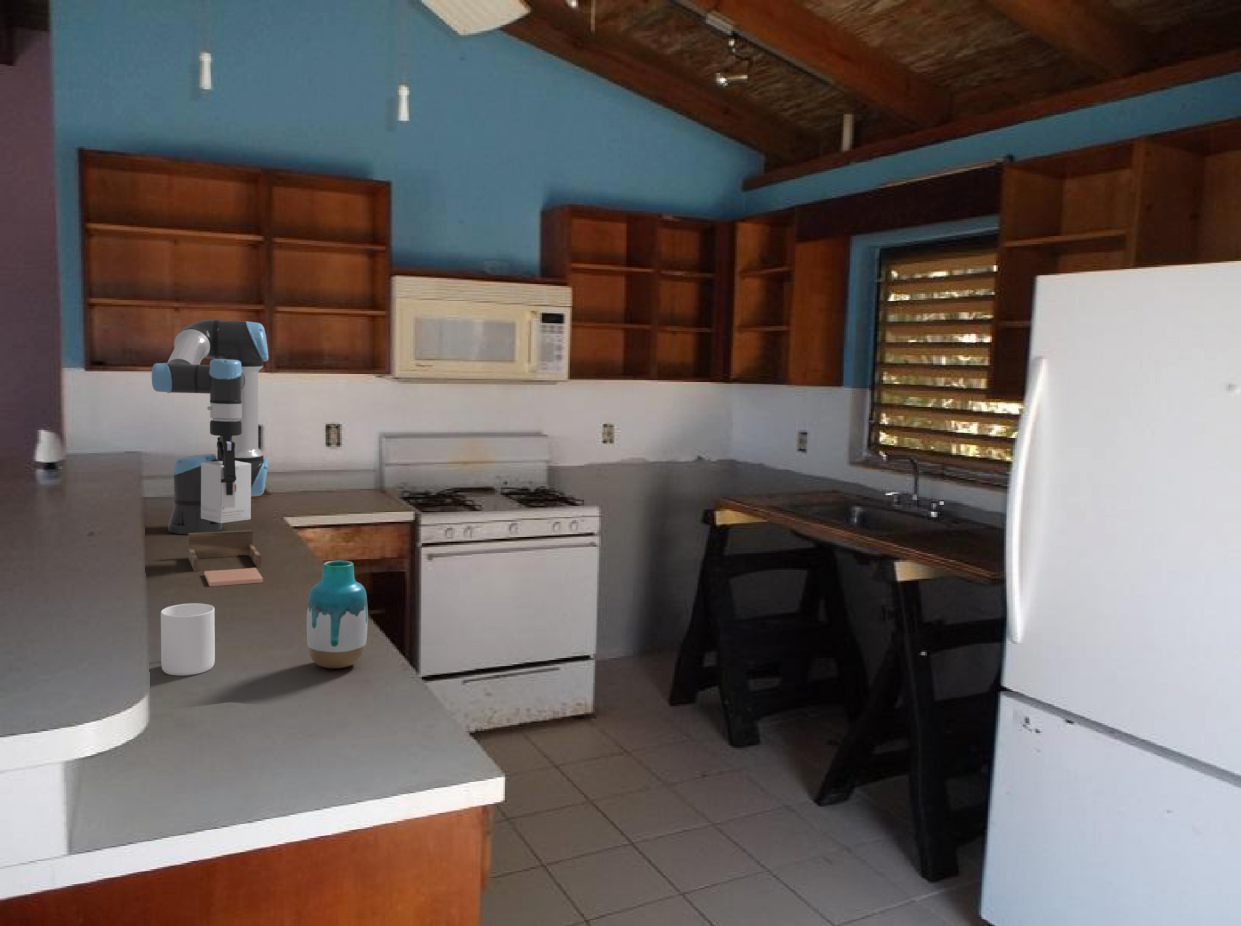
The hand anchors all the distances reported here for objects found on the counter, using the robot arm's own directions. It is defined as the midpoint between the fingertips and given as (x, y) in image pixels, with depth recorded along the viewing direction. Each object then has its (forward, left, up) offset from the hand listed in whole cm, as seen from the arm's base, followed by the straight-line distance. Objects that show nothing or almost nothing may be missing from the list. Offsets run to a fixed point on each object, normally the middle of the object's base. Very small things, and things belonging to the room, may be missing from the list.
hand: (226, 503), depth 237 cm
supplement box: (0, 0, -4) cm, 4 cm away
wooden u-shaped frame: (-4, 0, -16) cm, 17 cm away
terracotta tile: (+15, 0, -16) cm, 22 cm away
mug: (+78, -15, -17) cm, 81 cm away
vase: (+88, +9, -17) cm, 90 cm away
